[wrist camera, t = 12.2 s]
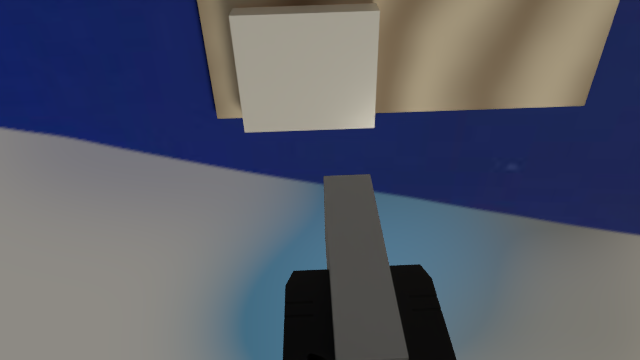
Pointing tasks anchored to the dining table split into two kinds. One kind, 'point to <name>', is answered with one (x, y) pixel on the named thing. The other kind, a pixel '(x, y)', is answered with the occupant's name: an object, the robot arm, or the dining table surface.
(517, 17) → the board
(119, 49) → the dining table surface
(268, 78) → the tile
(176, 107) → the dining table surface
